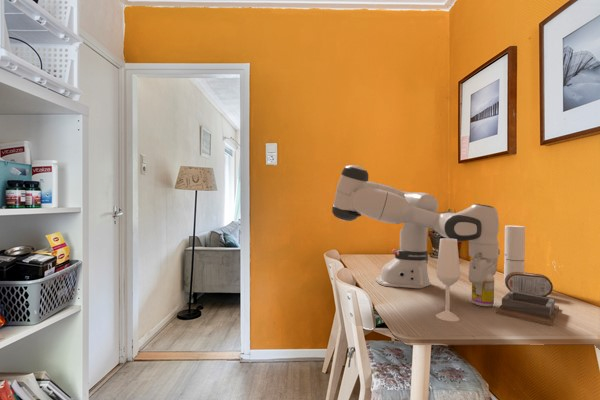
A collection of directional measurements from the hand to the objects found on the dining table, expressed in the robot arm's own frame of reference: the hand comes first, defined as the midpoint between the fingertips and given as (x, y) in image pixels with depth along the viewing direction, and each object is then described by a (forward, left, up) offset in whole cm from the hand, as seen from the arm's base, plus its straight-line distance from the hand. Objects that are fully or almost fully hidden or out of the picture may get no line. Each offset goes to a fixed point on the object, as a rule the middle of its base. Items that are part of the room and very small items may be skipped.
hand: (482, 291), depth 110 cm
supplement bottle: (0, 0, -4) cm, 4 cm away
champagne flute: (-17, -12, -5) cm, 21 cm away
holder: (+12, -5, -5) cm, 14 cm away
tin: (+24, +13, -5) cm, 28 cm away
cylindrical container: (+28, +28, -5) cm, 40 cm away
